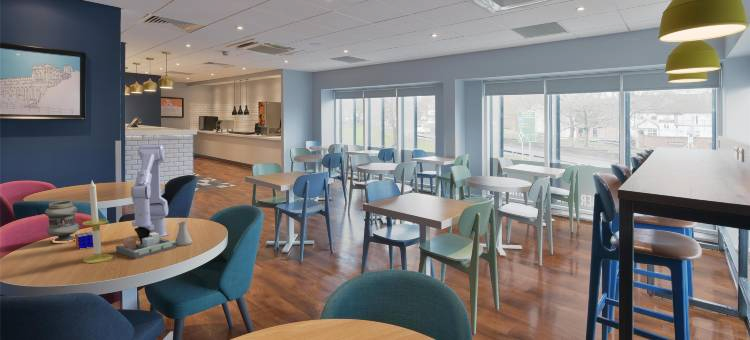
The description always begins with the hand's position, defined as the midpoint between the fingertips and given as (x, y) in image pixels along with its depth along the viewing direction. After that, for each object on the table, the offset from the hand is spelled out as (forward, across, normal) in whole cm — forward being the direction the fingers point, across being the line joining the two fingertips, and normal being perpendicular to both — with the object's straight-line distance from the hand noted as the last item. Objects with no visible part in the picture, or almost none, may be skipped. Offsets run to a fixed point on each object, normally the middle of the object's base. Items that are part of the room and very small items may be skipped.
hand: (144, 243), depth 175 cm
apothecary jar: (+3, -42, -15) cm, 44 cm away
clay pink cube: (+1, -2, -5) cm, 5 cm away
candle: (+3, -2, -17) cm, 17 cm away
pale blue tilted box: (+1, +3, 0) cm, 4 cm away
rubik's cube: (+3, -24, -13) cm, 28 cm away
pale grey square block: (+1, -2, +5) cm, 5 cm away
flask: (+3, +6, +14) cm, 16 cm away
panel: (+2, +2, 0) cm, 3 cm away
